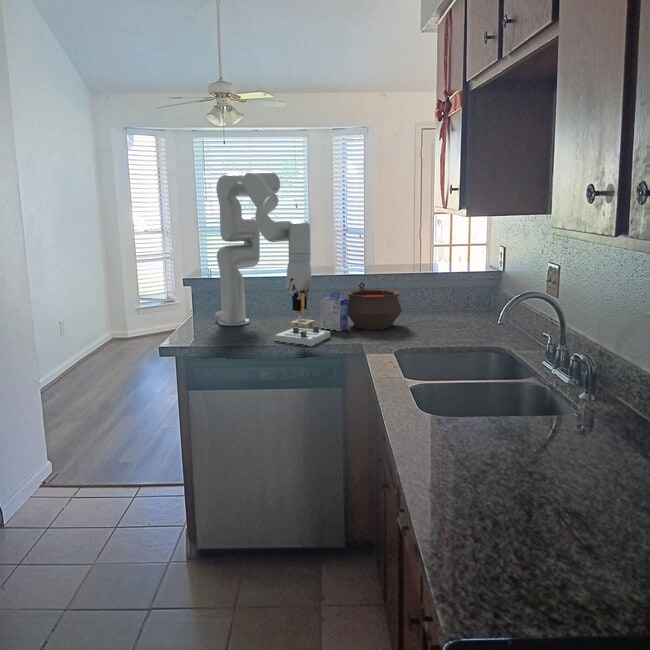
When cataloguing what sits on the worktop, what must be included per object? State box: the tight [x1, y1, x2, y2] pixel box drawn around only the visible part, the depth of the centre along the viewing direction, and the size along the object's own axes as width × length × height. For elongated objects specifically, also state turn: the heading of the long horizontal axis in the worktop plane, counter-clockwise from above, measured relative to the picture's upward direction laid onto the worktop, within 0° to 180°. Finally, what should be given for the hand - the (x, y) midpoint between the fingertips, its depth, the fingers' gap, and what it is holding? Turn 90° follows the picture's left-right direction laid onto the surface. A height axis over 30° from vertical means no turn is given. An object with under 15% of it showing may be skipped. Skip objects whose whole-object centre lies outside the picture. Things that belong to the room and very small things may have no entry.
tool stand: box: [289, 318, 316, 330], centre depth 251 cm, size 7×7×4 cm
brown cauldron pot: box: [346, 281, 403, 330], centre depth 259 cm, size 24×24×16 cm
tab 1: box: [290, 327, 301, 334], centre depth 239 cm, size 4×2×3 cm, turn 62°
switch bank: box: [274, 328, 331, 347], centre depth 238 cm, size 15×14×3 cm
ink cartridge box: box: [319, 291, 349, 332], centre depth 254 cm, size 10×6×14 cm, turn 53°
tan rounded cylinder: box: [295, 292, 305, 327], centre depth 231 cm, size 3×3×12 cm
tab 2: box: [298, 331, 309, 338], centre depth 232 cm, size 4×2×3 cm, turn 62°
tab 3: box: [310, 325, 321, 333], centre depth 240 cm, size 4×2×3 cm, turn 62°
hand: (299, 309), depth 231 cm, fingers closed on tan rounded cylinder, 3 cm apart
